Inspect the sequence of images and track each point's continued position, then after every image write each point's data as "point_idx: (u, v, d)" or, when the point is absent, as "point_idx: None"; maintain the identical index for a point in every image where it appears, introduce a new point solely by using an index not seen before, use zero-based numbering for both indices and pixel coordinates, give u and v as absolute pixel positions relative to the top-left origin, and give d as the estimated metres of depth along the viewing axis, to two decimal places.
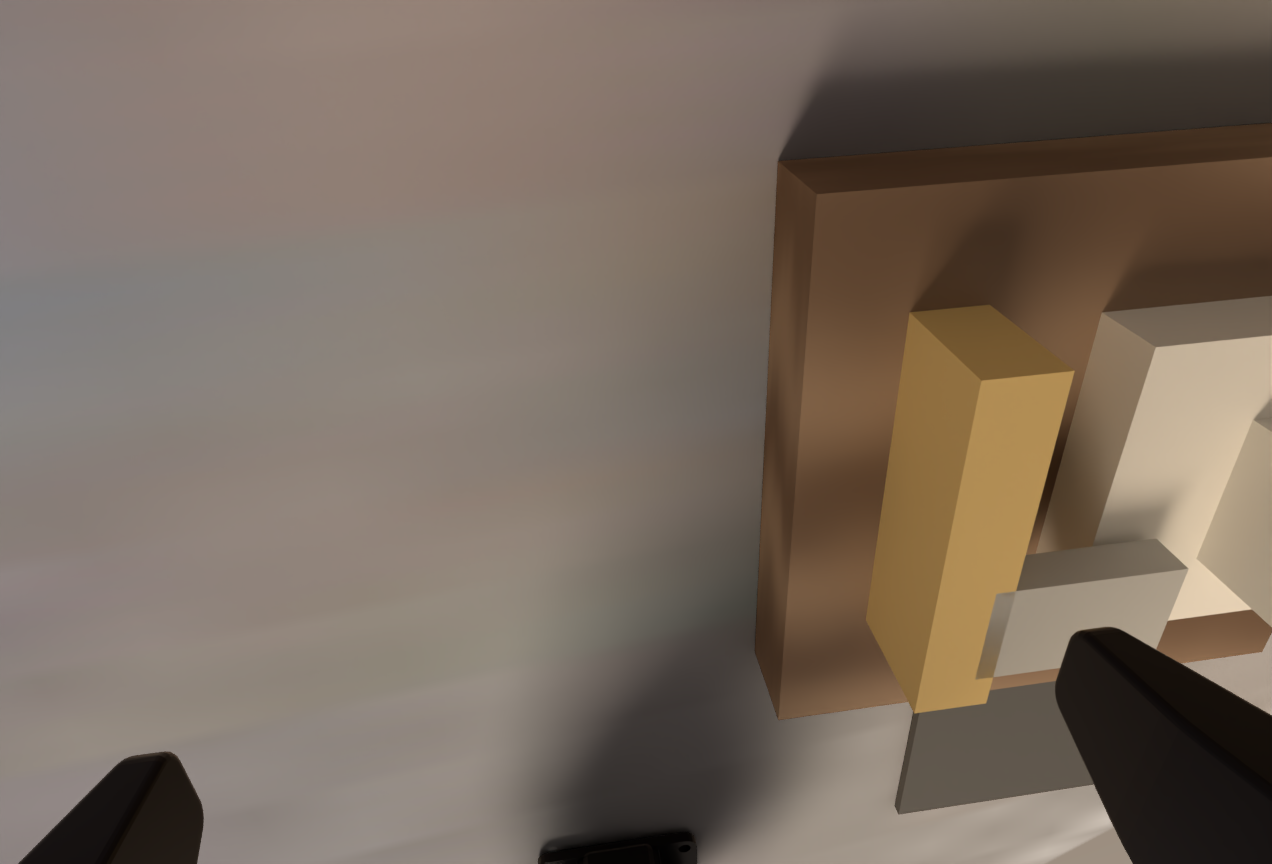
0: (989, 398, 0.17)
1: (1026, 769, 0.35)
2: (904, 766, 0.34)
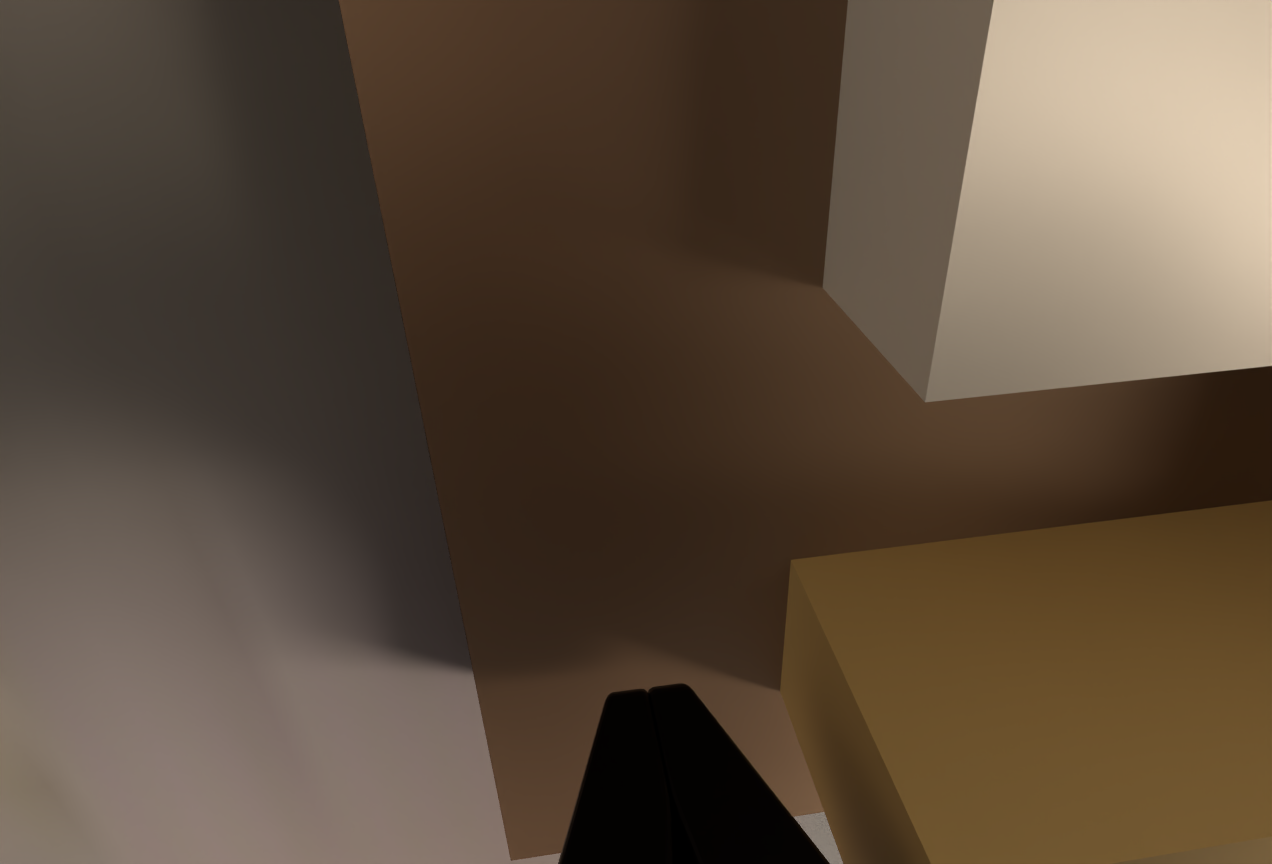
0: None
1: None
2: None
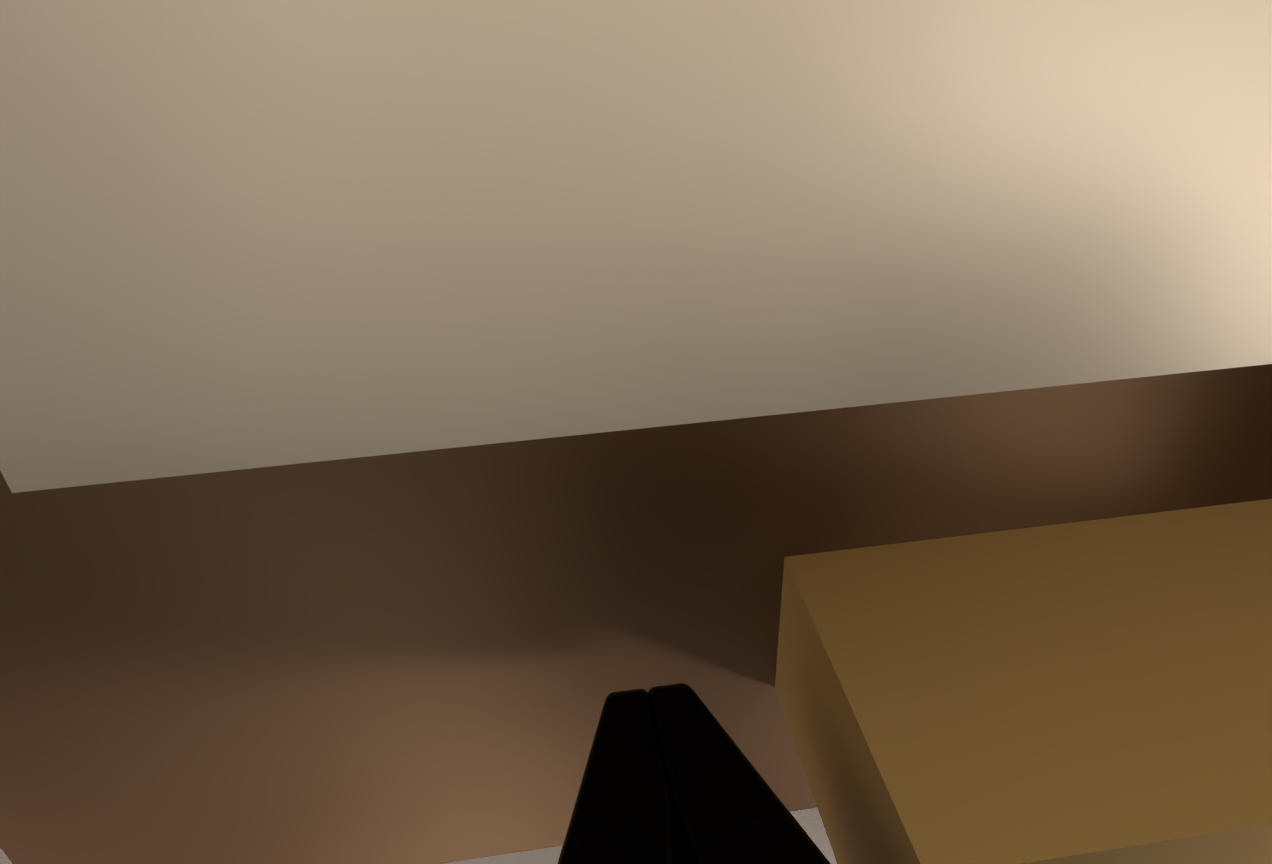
0: None
1: None
2: None
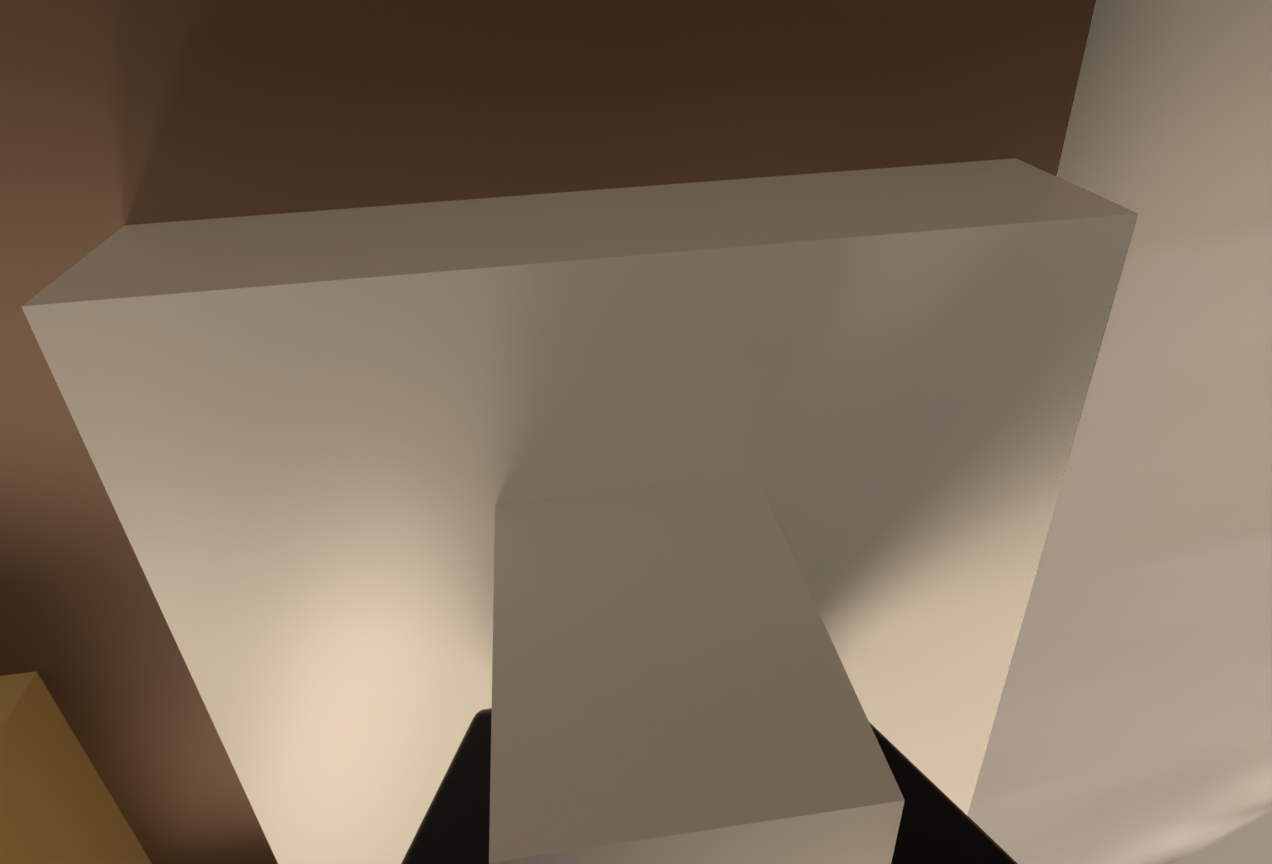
0: None
1: None
2: None
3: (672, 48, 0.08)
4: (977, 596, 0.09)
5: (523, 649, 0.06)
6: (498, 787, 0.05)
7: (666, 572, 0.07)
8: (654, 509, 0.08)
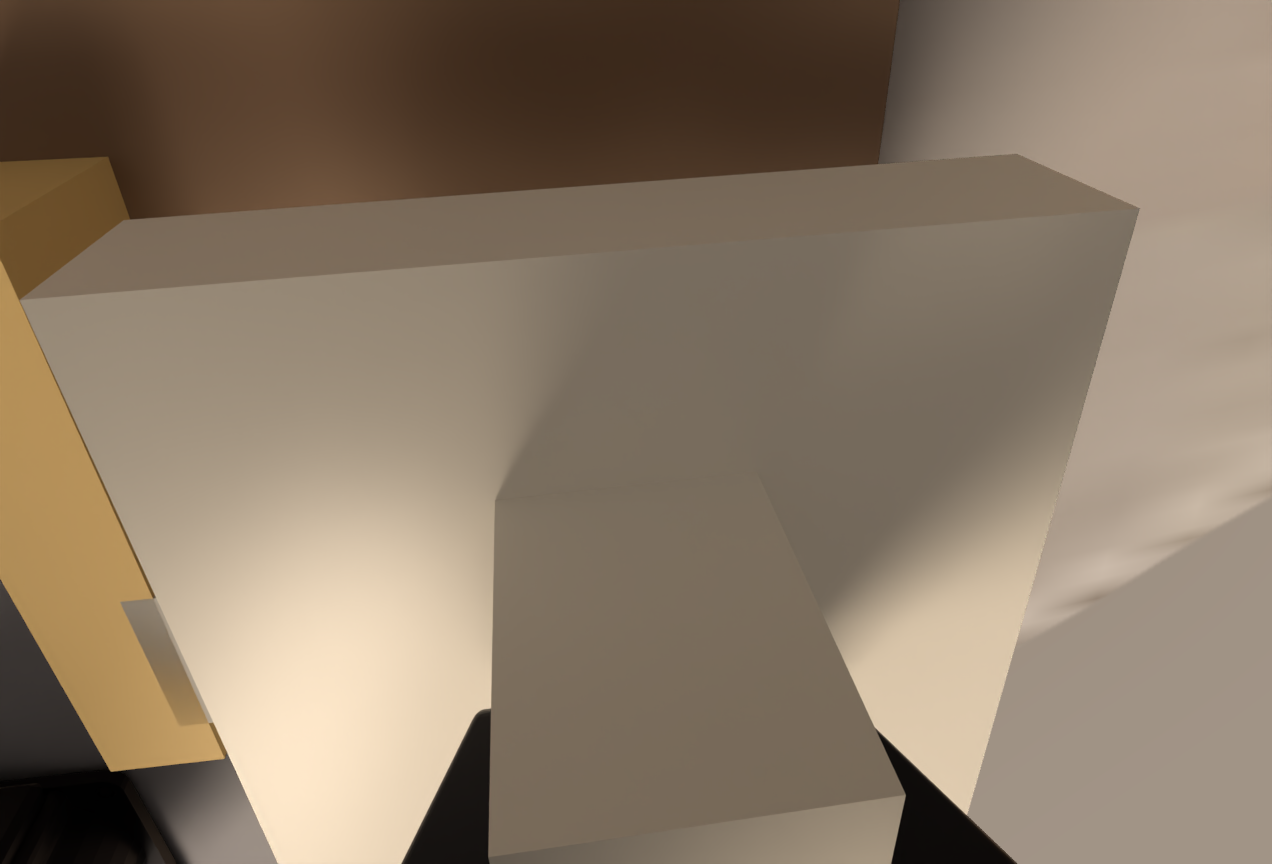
0: None
1: None
2: None
3: None
4: (978, 593, 0.09)
5: (523, 644, 0.06)
6: (498, 782, 0.05)
7: (666, 567, 0.07)
8: (655, 505, 0.08)
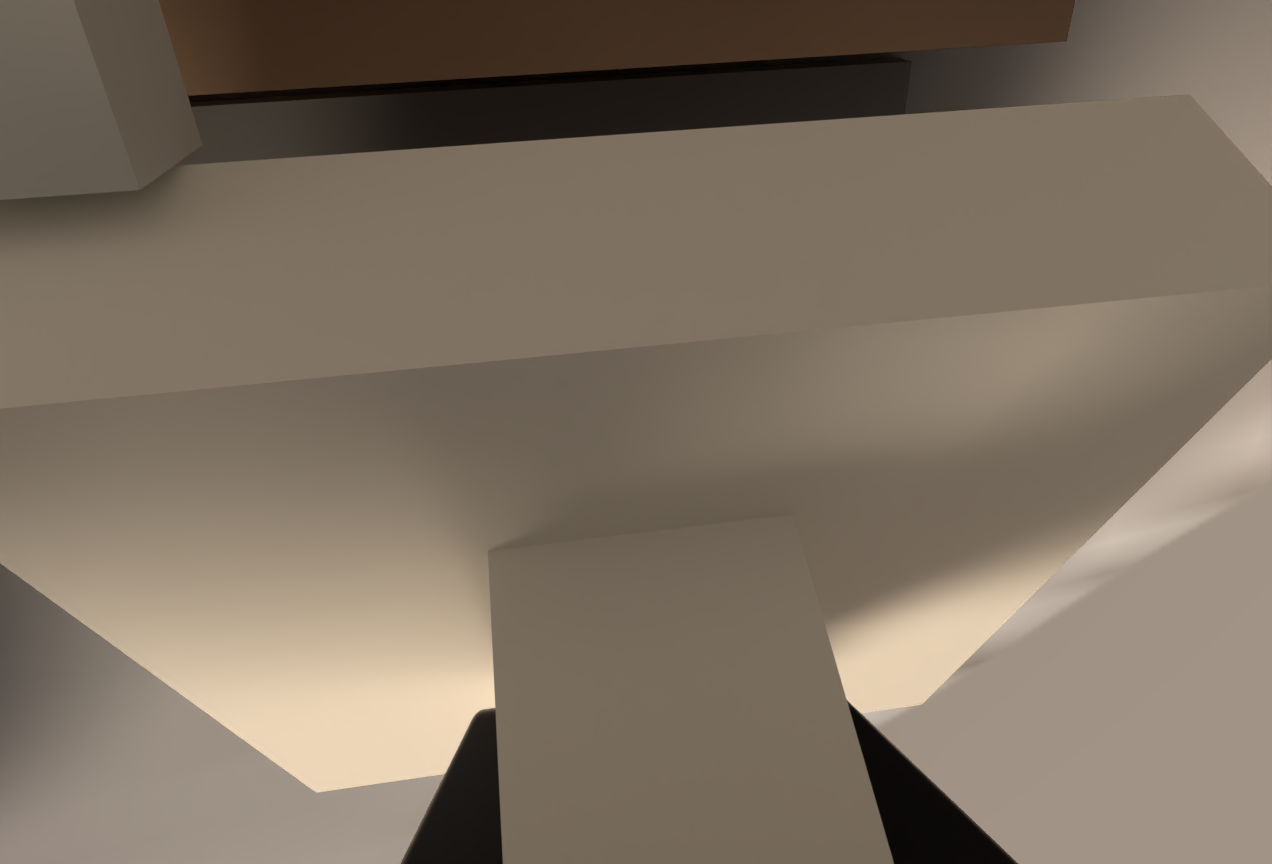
0: None
1: None
2: None
3: None
4: (1000, 577, 0.09)
5: (533, 796, 0.06)
6: None
7: (690, 676, 0.06)
8: (676, 567, 0.07)
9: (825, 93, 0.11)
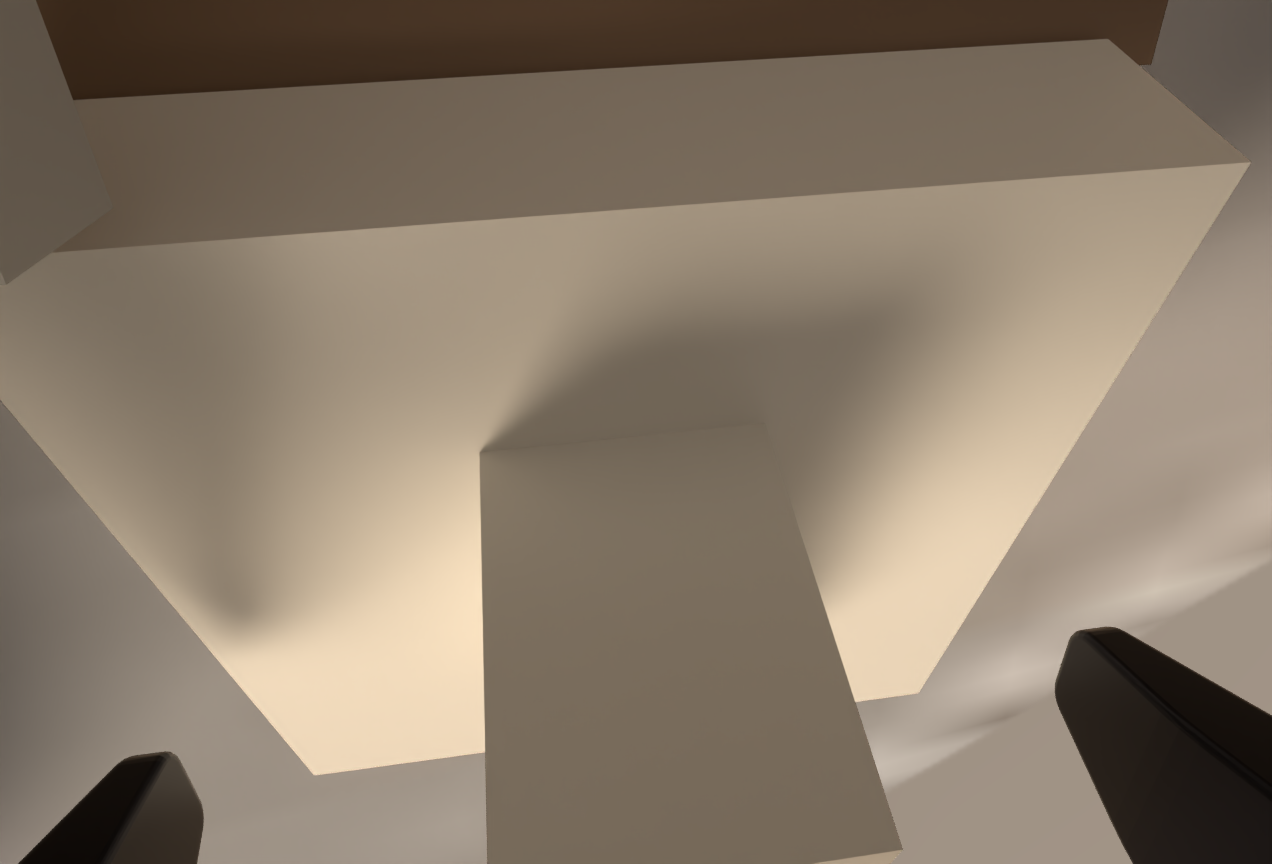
0: None
1: None
2: None
3: None
4: (975, 519, 0.09)
5: (516, 650, 0.06)
6: (495, 825, 0.05)
7: (667, 552, 0.06)
8: (653, 465, 0.07)
9: None
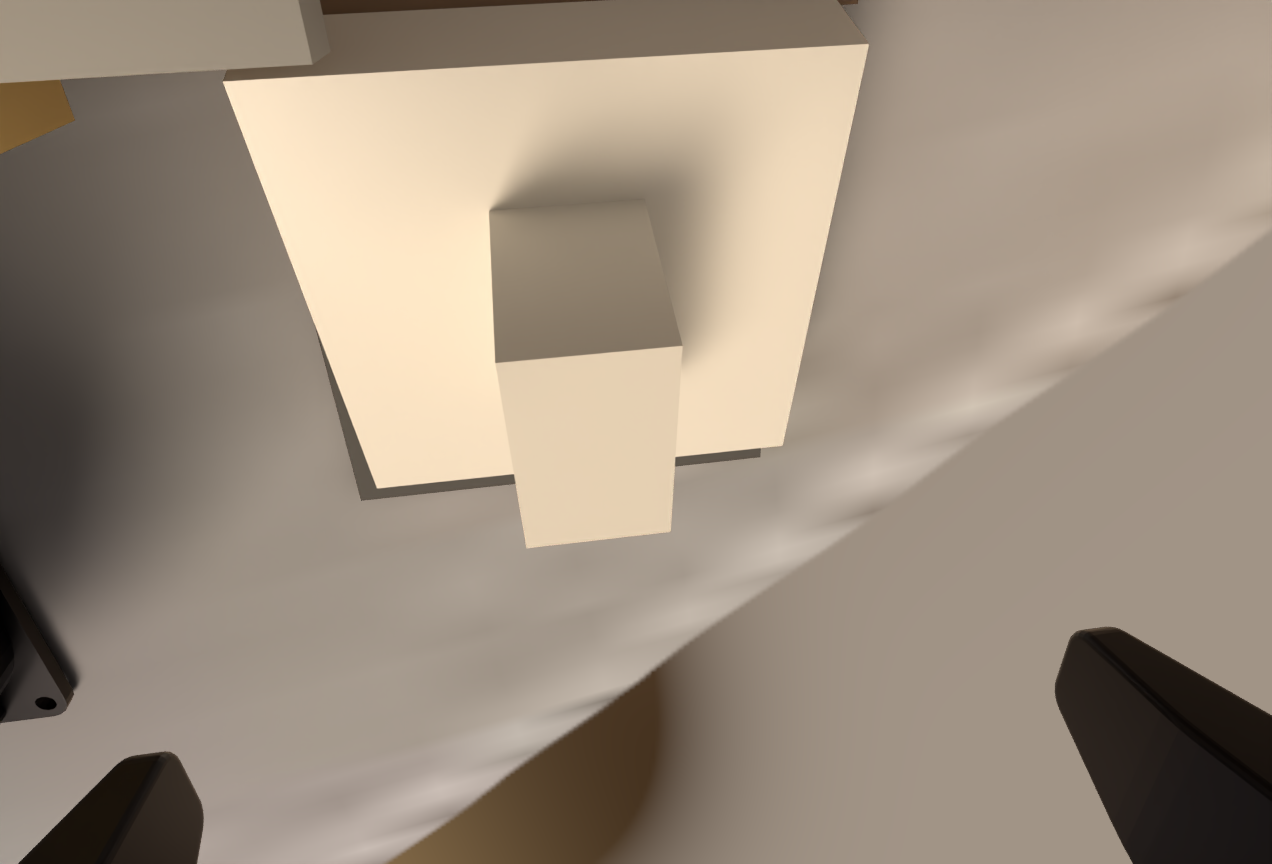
0: None
1: None
2: None
3: None
4: (784, 282, 0.15)
5: (507, 283, 0.12)
6: (498, 337, 0.11)
7: (585, 249, 0.12)
8: (582, 215, 0.13)
9: None
